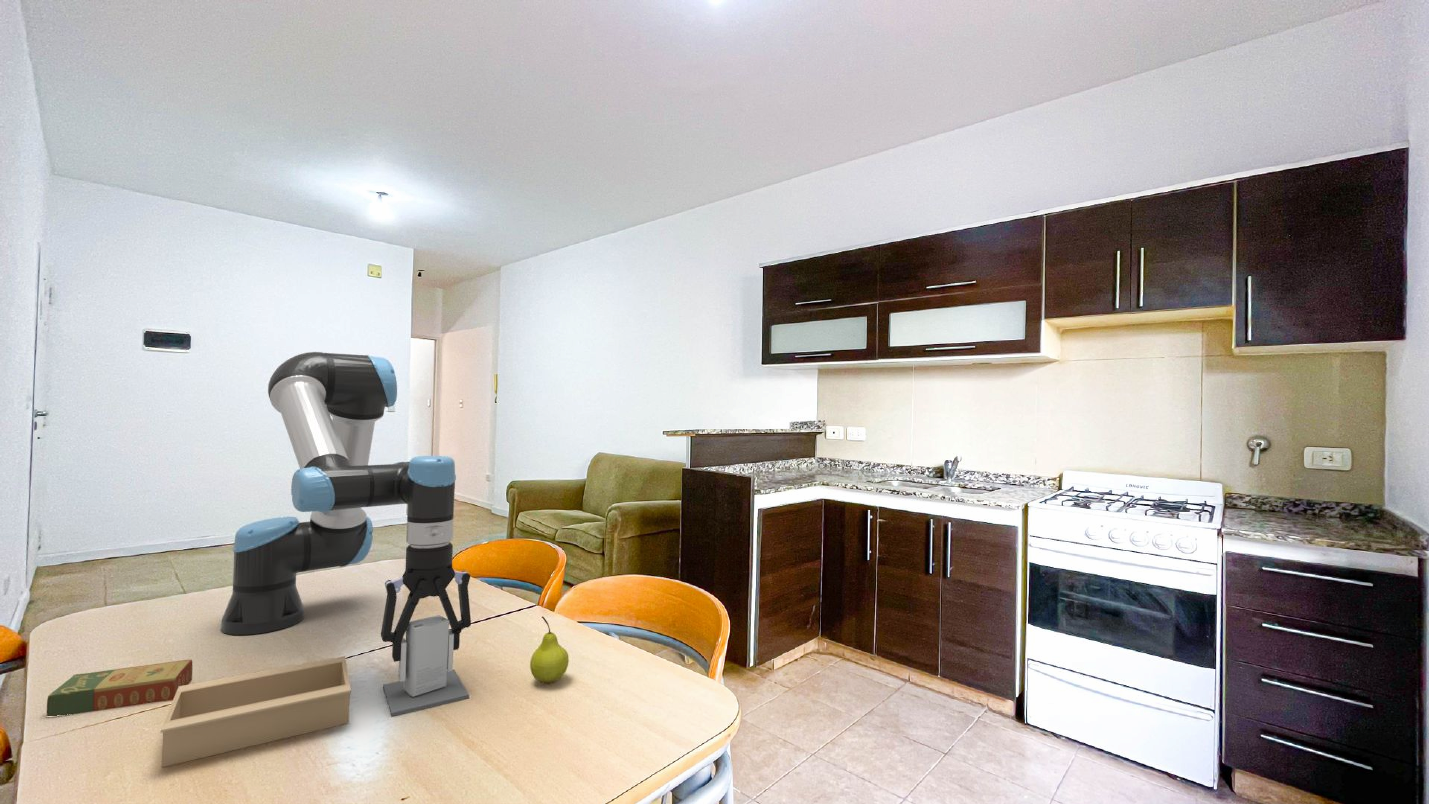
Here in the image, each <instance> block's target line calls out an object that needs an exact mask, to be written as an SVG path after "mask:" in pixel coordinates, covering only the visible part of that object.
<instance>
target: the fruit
mask: <svg viewBox="0 0 1429 804" xmlns="http://www.w3.org/2000/svg"><path fill="white" fill-rule="evenodd" d="M541 618H542V619H543V621H544V623H546V625H547V627H548V632H546V633H545V634H544V635H543V637H542V641H541V643H540V644H539V646H538V647H537V648H535V651H534V652H533V653H532V656H531V658H530V661H529V663H530V664H529V668H530V672H531V675H532V677H533V678H534V679H535V680H537V682H540V683H542V684H544V685H549V684H553V683H555V682H556V681H558V680H559V679H560V678H561V677H562V676H564V675H565V673H566V672H567V669H568V666H569V662H570V661H569V658H570V657H569V653H568V651H567V650H566V649H565V648H564V647H563V646H562V645H560V644H559V642H558V637H557V636H556V634H555V632H552V631H551V628H550V625H549V622H548V621H547V619H546V618H545V617H544V615H542V616H541Z"/></svg>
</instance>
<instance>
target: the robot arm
mask: <svg viewBox="0 0 1429 804" xmlns="http://www.w3.org/2000/svg"><path fill="white" fill-rule="evenodd" d="M397 381H398V380H397V377H396V372H395V369H394V366H393V365H392V363H391V362H390V361H389V360H388V359H387V358H386V357H382V356H381V357H380V356H373V355H368V354H366V355H364V354H349V353H348V354H347V353H330V352H323V351H309V352H304V353H300V354H297V355H295V356H293V357H291V358H289V359H286V360H285V361H283V363H281V364H280V365H279V366H277V368H276V369H275V370H274V371H273V373H272V375H271V377H270V380H269V382H268V385H267V394H268V398H269V401H270V403H271V406H272V407H273V409H275V411H277V412H278V413H280V414H281V418H282V420H283V423H284V426H285V429H286V432H287V435H288V438H289V441H290V444H291V446H292V450H293V453H294V455H295V459H296V461H297V464H298V467H299V468H298V469H297V470H295V472H294V473H293V475H292V478H291V487H290V490H291V491H290V493H291V502H292V505H293V507H294V509H295V510H296V511H298V512H301V513H309V512H311V514H310V518H309V519H310V520H309V521H303V522H300V520H299V519H298V518H297V517H295V516H284V517H279V516H278V517H273V518H268V519H263V520H258V521H254V522H251V523H249V524H246V525H243V526H242V527H240V528H239V529H238V530H236V532H235V535H234V536H235V537H234V543H233V547H232V552H233V571H232V577H233V578H232V594H231V597H230V599H229V601H228V603H227V606H226V609H225V610H224V614H223V615H222V618H221V623H220V624H221V626H220V631H221V632H222V633H224V634H228V635H236V636H246V635H256V634H257V635H258V634H264V633H270V632H275V631H278V630H282V629H286V628H289V627H292V626H295V625H296V624H298V623H300V622H301V621H303V619H304V618H305V607H304V604H303V601H302V598H301V595H300V593H299V590H298V587H297V575H298V573H305V572H311V571H317V570H325V569H329V568H337V567H338V568H339V567H341V568H342V567H347V566H350V565H355V564H359V563H361V562H362V561H364V560H365V559H366V558H367V556H368V555H369V553H370V550H371V548H372V543H373V537H374V536H373V532H374V528H373V522H372V519H371V518H370V517H368V516H367V512H366V511H365V510H364V509H363V508H370V507H371V508H372V507H383V506H395V505H407V509H406V511H407V512H406V513H407V514H406V515H407V517H406V520H407V522H406V543H407V544H408V545H407V547H406V548H405V549H406V550H405V568H404V569H405V570H404V573H403V574H402V576H401V577H400V578H397V579H394V580H392V579H391V580H390V579H388V580H386V581H385V582H384V585H385V590H386V600H385V605H384V611H383V619H382V624H381V630H380V637H381V640H382V642H384V643H387V642H388V643H392V645H391V646H392V647H391V648H392V649H391V651H392V652H391V657H392V660H393V662H394V663H396V662H398V671H397V672H398V675H397V676H398V679H399V681H400V682H402V681H405V676H406V645H407V643H406V637H404V636H405V635H406V629H407V627H408V624H409V622H411V621H412V620H411V619H412V617H413V616H414V612H415V611H416V607H417V606H418V604H419V601H420V600H421V599H426V598H429V597H439V600H440V604H441V606H442V608H443V611H444V612H445V616H446V619H448V620H449V627H450V629H449V638H448V659H447V671H448V672H449V671H453V669H454V651H458V650H459V649H460V640H461V639H460V637H461V633H462V630H464V629H466V628H469V627H471V625H472V619H471V607H470V599H469V598H470V597H469V587H468V586H469V584H470V580H471V574H470V573H468V571H467V570H462V571H456V570H455V569H454V568H453V549H454V548H453V547H454V545H453V543H452V541H453V539H454V513H455V510H454V509H455V489H456V488H455V487H456V480H457V475H456V463H455V460H454V459H453V457H451V456H447V455H446V456H445V455H444V456H443V455H422V456H415V457H412V458H411V459H410V460H409V461H398V462H395V463H389V464H369V461H370V454H371V447H372V442H373V435H374V430H375V425H376V424H375V423H376V422H377V421H378V420H380V419H382V418H383V417H384V415H385V414H384V413H385V409H386V408H392V407H393V406H394V405H395V403H396V401H397V398H398V384H397ZM453 579H455V583H456V584H457V589H458V591H457V592H458V600H459V611H460V619H459V620H458V619H457V616H456V613H455V611H454V608H453V606H452V603H451V600H450V597H449V594H448V591H447V588H448V586H449V585H450V583H451V582H452V581H453ZM403 585H404V586H405V587H406V588H407V589H408V590H409V594H408V596H407V599H406V602H405V604H404V607H403V609H402V611H401V614H400V616H399V619H398V620H397V623H396V626H395V629H394V631H392V630H393V623H394V617H395V611H396V604H397V594H398V593H400V592H401V587H402V586H403Z"/></svg>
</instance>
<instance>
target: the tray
mask: <svg viewBox="0 0 1429 804" xmlns="http://www.w3.org/2000/svg"><path fill="white" fill-rule="evenodd" d="M350 684H351V683H350V678H349V673H348V668H347V660H346V656H345V655H344V656H337V657H334V658H332V657H331V658H327V659H321V660H315V661H310V662H305V663H301V664H300V663H298V664H295V665H290V666H289V665H287V666H283V667H278V668H273V669H267V670H262V671H256V672H250V673H245V674H244V673H243V674H239V675H234V676H227V677H223V678H217V679H211V680H206V681H201V682H195V683H189V684H188V685H184V686H179V687H178V689H177V692H176V694H175V697H174V699H173V700H172V702H171V704H170V707H169V709H168V711H167V714H166V716H165V718H164V721H163V723H162V727H161V728H160V733H162V746H161V747H162V750H161V753H162V754H161V768H165V767H169V766H173V765H174V766H175V765H177V764H182V763H185V762H191V761H194V760H199V759H202V758H207V757H211V756H216V755H220V754H224V753H227V752H228V753H229V752H232V751H236V750H240V749H244V748H248V747H254V746H257V745H261V744H266V743H268V742H270V743H271V742H275V741H278V740H283V739H286V738H292V737H295V736H299V735H304V734H309V733H313V732H317V731H320V730H325V729H329V728H332V727H333V728H334V727H336V726H337V727H338V726H341V725H347V724H349V722H350V700H351V699H350V698H351V695H350V694H351V692H352V688H351V685H350Z"/></svg>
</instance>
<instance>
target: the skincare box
mask: <svg viewBox="0 0 1429 804" xmlns="http://www.w3.org/2000/svg"><path fill="white" fill-rule="evenodd" d="M449 630H450V624H449V620H448V619H447V617H446V618H445V617H444V616H443V615H435V616H428V617H426V618H425V617H424V618H421V619H416V620H410V622H409V624H408V627H407V629H406V632H405V640H406V643H407V645H406V676H405V681H404V685H403V688H404V690H405V691H406V692H407V693H408V694H409V695H411V696H412V697H414V696H417V695H420V694H423V693H427V692H430V691H433V690H436V689H439V688H442V687H445V686H446V680H447V671H448V670H447V659H448V638H449Z"/></svg>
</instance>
